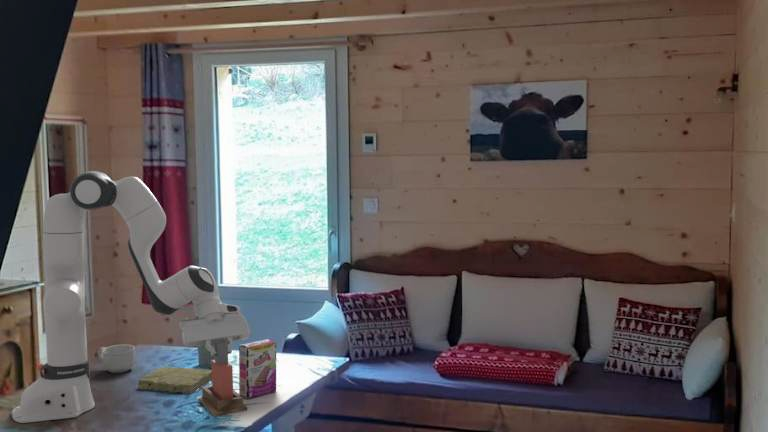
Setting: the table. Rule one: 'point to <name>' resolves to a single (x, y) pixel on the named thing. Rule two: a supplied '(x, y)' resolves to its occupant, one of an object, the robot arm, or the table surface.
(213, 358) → the grey cup
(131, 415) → the table surface
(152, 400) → the table surface
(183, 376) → the decorative tile
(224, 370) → the pink and grey block
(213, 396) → the brown wooden tray
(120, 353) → the teacup
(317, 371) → the table surface
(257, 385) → the candy bar box
